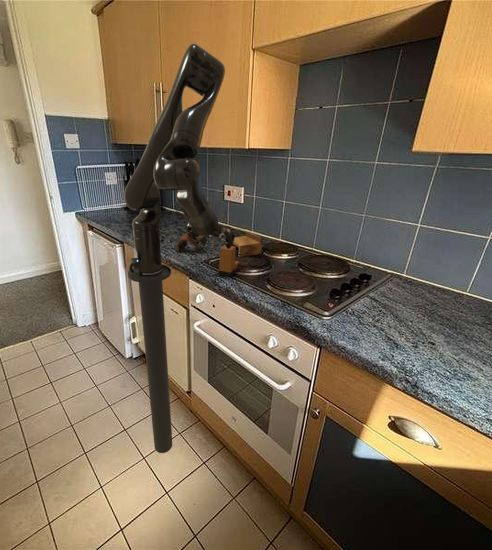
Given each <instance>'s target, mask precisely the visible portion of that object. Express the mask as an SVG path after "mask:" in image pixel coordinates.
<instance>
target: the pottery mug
mask: <svg viewBox="0 0 492 550" xmlns="http://www.w3.org/2000/svg"><path fill="white" fill-rule="evenodd" d="M188 243H190V244H191V245H193V246H195V249H194V251H195V252H197V251H198V250H199V248H200V243H201V242H200V241H199V240H198V239H196V237H194V238H191V236H190V235H189V233H188V232H187V233H184V235H181V236H180V237H179V239H178V241H177V243H176V247H175V248H176V251H177V252H184V251H185V249H186V247H187V245H188Z"/></svg>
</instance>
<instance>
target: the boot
mask: <svg viewBox="0 0 492 550" xmlns="http://www.w3.org/2000/svg"><path fill="white" fill-rule="evenodd" d="M236 249H237V248H236V247H234V246H231V248H230V249H227V247H226V245H225V244H223V246H221V247H220V248H219V270H218V275H219V276H224V277H229V278H231V277H232V276H233V275H234V274H235V273H236V272H237V271H238V270H239V269H240V267H239V268H237V269H236V270H235V268H236V266H237V265H238V264H239V265H240V261H238V260H236V255H237V254H236Z"/></svg>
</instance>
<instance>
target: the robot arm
mask: <svg viewBox="0 0 492 550" xmlns="http://www.w3.org/2000/svg"><path fill="white" fill-rule="evenodd" d="M225 73H226V67H225V65H224V63H223V62H222V61H221V60H219V58H217V57H215V56H214V55H213V54H211V53H210V52H209V51H207V50H206V49H204V48H203V47H201V46H200V45H198V44H197V43H195V42H194V43H191V44H189V46H188V47H187V48H186V50H185V52H184V54H183V55H182V58H181V60H180V63H179V65H178V69H177V71H176V74H175V77H174V79H173V82H172V85H171V88H170V91H169V93H168V96H167V98H166V101H165V104H164V105H163V109H162V110H161V112H160V114H159V117H158V119H157V121H156V123H155V126H154V128H153V130H152V132H151V135H150V137H149V139H148V142H147V144H146V147H145V149H144V152H143V153H142V155H141V158H140V160H139V163H138V164H137V167H136V168H135V170H134V171H133V174H132V175H131V177H130V179H129V180H128V182H127V184H126V186H125V188H124V193H123V197H124V198H123V199H124V203H125V204H126V206H127V208H129V210H132V211H139V214H138V215H137V216H136V217H134V219H133V220H132V233H133V244H134V246H133V257H131V258H130V264H129V267H128V268H129V270H130V271H131V272H132V273H134V270H133V269H132V268H134V269H136V272H137V273H138V275H139V276H154V275H157V274H160V273H161V272H162V265H163V264H162V251H161V250H162V249H161V234H160V233H161V232H160V222H161V217H162V204H161V203H162V202H161V201H162V199H161V191H160V190H162V191H165V192H176V193H175V200H176V203H177V205H178V207H179V208H180V210H181V211H182V213H183V214H184V217H185V219H186V220H187V225H186V227H185V230H186V232H187V233H188V234H189V235H190V236H191V238H194V237H196V239H198V240H199V241H200V243H201V244H202V246H206V245H207V242H208V239H207V238H211V239H215V240H216V241H217V242H222V243H223V245H226V247H227V249H230V248H231V246H232V244H233V242H234V239H235V237H236V234H235V233H234V231H233V229H232V227H231V226H229V225H227V226H226V227H222V226H221V225H220V224H219V219H218V217H217V215H216V213H215V211H214V209H213V207H212V205H211V203H210V202H209V201H208V199H207V197H206V195H205V193H204V190H203V185H202V178H201V168H200V165H199V163H198V162H197V161H196V160H194V159H195V158H196V157H197V156H198V154H199V153H200V149H201V144H202V140H203V137H204V132H205V128H206V126H207V123H208V121H209V118H210V115H211V113H212V111H213V108H214V106H215V103H216V101H217V98H218V95H219V93H220V91H221V87H222V86H223V82H224V79H225ZM186 87H187V88H188V89H190V90H191V91H193V92H194V93H195V94H198V95H199V96H201V97H202V98H201V99H200V100H199V101H197V102H196V103H194V104H192V105H191V106H189V107H187V108H185V109H184V110H183V97H184V96H183V95H184V91H185V88H186ZM161 264H162V265H161Z"/></svg>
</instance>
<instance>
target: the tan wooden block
mask: <svg viewBox="0 0 492 550" xmlns="http://www.w3.org/2000/svg"><path fill="white" fill-rule="evenodd" d="M232 246H234V247H236V249H238V257H239V258H242V257H248V256H254V255H261V254H262V250H263V249H262V248H263V238H262V237H261V236H258V235H257V234H254V233H252V232H250V231H245V235H243V236H235V239H234V242H233V244H232ZM247 253H249V254H247ZM239 254H242V255H239Z"/></svg>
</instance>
